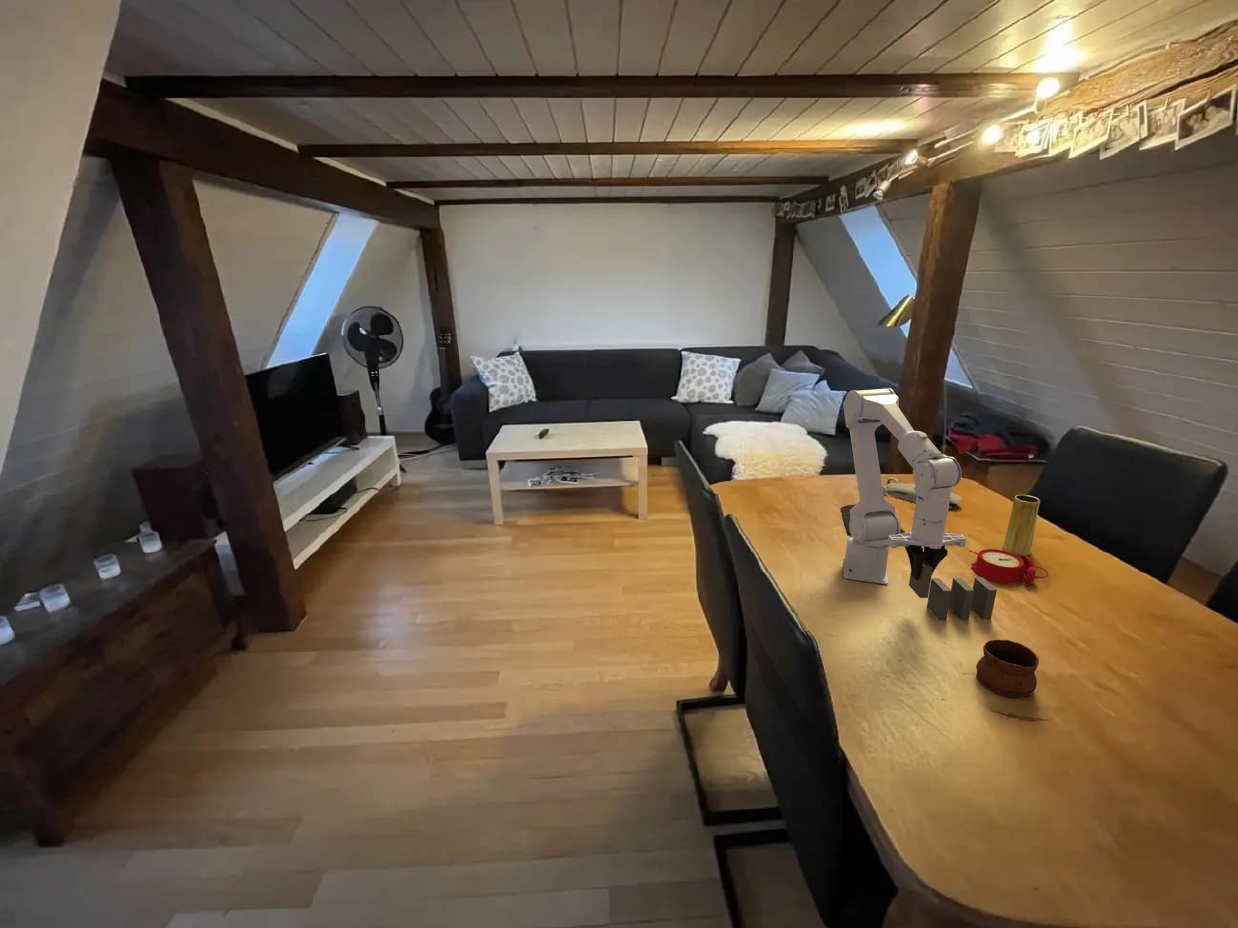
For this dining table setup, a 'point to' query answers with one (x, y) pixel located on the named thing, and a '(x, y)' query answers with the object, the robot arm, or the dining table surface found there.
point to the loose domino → (922, 581)
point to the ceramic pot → (1008, 671)
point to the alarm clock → (1004, 567)
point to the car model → (909, 492)
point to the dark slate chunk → (846, 517)
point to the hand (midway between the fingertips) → (920, 577)
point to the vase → (1021, 525)
